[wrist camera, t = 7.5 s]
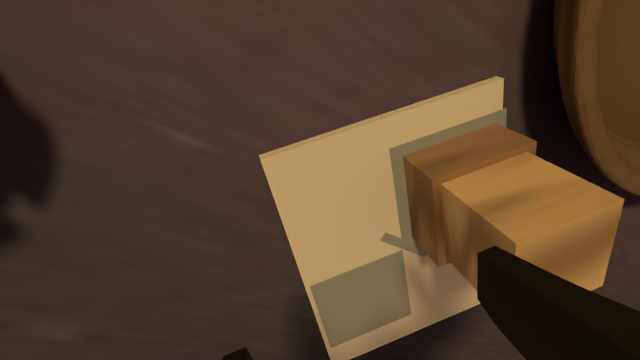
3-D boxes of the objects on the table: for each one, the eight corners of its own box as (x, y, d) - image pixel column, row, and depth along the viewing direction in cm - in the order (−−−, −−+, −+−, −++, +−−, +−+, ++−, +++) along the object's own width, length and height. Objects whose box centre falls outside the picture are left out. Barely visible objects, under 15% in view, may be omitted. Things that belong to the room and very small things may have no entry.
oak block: (521, 226, 21) (602, 285, 17) (445, 257, 20) (510, 326, 16) (527, 151, 19) (624, 199, 14) (440, 184, 18) (516, 243, 14)
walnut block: (493, 205, 24) (528, 230, 21) (412, 237, 23) (438, 267, 21) (495, 123, 21) (537, 141, 18) (402, 156, 20) (432, 180, 18)
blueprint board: (492, 291, 30) (498, 297, 29) (330, 359, 28) (333, 368, 27) (499, 75, 20) (508, 77, 20) (258, 155, 18) (260, 160, 18)
